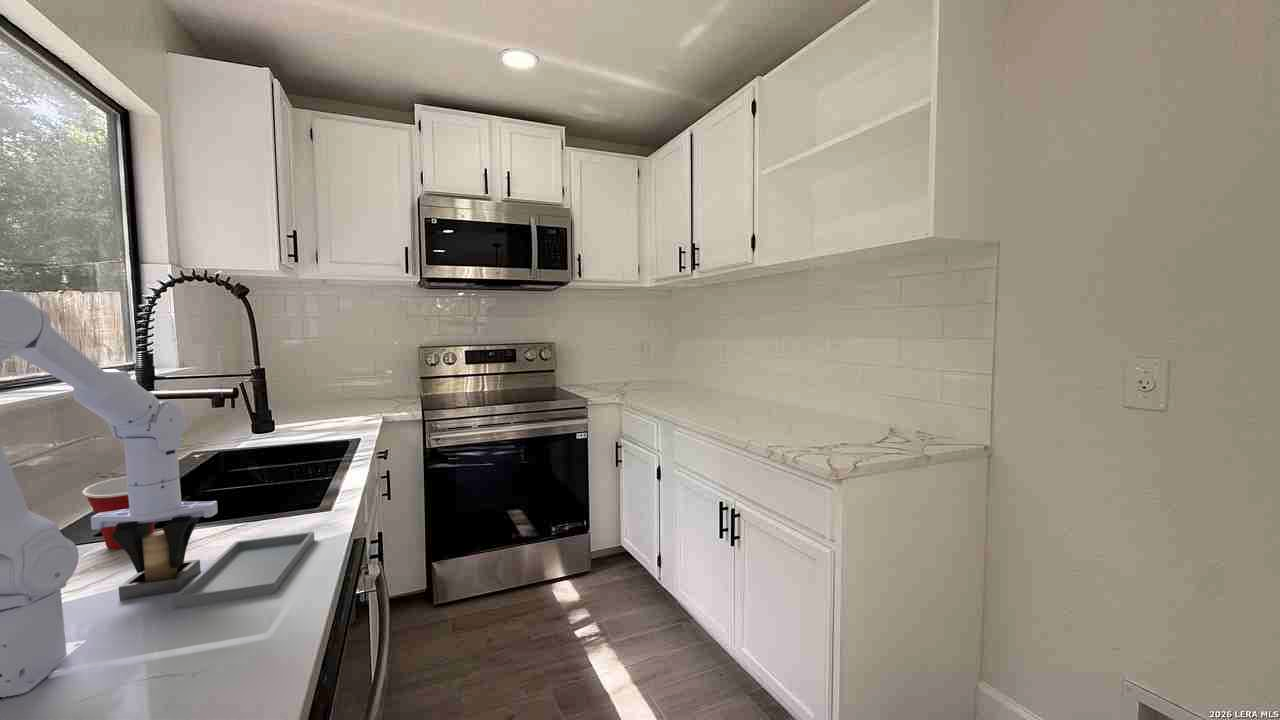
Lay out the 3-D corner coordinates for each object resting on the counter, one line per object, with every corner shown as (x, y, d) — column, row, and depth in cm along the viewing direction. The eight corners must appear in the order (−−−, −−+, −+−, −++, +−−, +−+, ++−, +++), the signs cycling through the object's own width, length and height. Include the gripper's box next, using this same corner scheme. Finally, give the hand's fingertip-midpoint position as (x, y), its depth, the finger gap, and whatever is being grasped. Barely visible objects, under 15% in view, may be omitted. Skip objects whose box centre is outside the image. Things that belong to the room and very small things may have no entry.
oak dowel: (170, 588, 77) (166, 537, 76) (140, 592, 75) (136, 540, 75) (183, 577, 80) (179, 528, 79) (154, 581, 79) (150, 531, 78)
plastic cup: (86, 565, 86) (80, 496, 85) (88, 546, 94) (82, 483, 93) (172, 544, 94) (168, 481, 93) (167, 529, 102) (163, 470, 101)
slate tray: (274, 597, 75) (273, 583, 75) (174, 613, 71) (173, 597, 71) (314, 543, 94) (313, 531, 94) (237, 553, 90) (236, 541, 90)
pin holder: (177, 595, 76) (176, 579, 75) (120, 604, 73) (118, 587, 73) (200, 574, 82) (199, 559, 82) (148, 582, 80) (147, 566, 80)
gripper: (224, 468, 83) (229, 549, 84) (110, 478, 78) (118, 563, 79) (202, 480, 76) (208, 568, 77) (77, 492, 71) (85, 585, 72)
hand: (161, 567), depth 78 cm, fingers closed on oak dowel, 4 cm apart
